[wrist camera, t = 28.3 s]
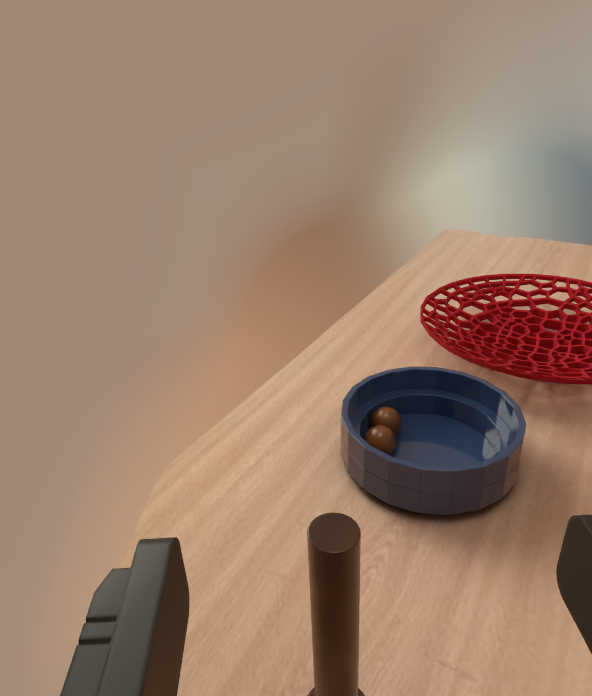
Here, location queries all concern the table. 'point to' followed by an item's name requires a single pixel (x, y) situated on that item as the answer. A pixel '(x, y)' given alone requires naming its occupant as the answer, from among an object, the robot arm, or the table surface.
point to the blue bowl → (434, 440)
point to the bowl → (517, 327)
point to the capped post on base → (335, 603)
